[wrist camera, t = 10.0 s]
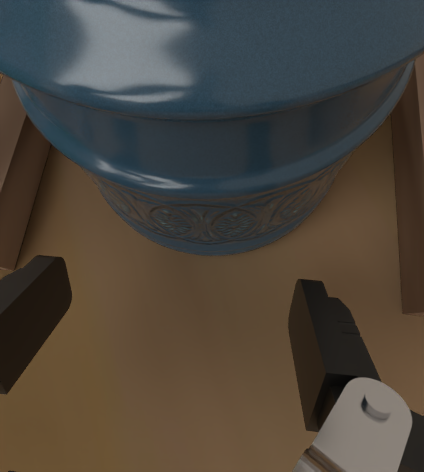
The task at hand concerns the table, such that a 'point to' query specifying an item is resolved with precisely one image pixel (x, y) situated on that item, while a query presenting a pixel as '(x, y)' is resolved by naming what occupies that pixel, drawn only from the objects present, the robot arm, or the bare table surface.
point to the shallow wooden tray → (405, 167)
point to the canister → (210, 103)
